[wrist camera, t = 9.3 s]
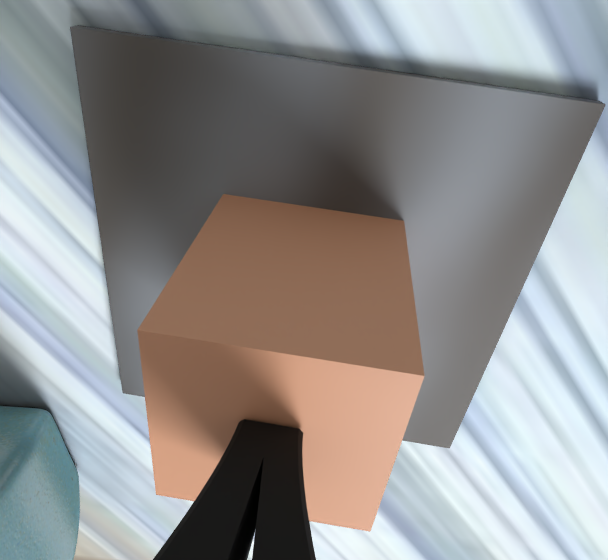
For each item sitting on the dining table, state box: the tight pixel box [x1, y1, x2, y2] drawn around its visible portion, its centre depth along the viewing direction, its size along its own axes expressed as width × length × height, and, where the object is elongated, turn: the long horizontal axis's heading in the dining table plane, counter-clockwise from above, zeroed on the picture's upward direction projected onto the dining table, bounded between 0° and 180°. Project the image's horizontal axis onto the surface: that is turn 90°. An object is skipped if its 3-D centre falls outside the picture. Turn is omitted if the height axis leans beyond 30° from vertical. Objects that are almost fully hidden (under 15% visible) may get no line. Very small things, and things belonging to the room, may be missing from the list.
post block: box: [70, 25, 605, 448], centre depth 14 cm, size 14×14×5 cm
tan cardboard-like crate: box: [137, 194, 425, 531], centre depth 14 cm, size 6×6×7 cm
